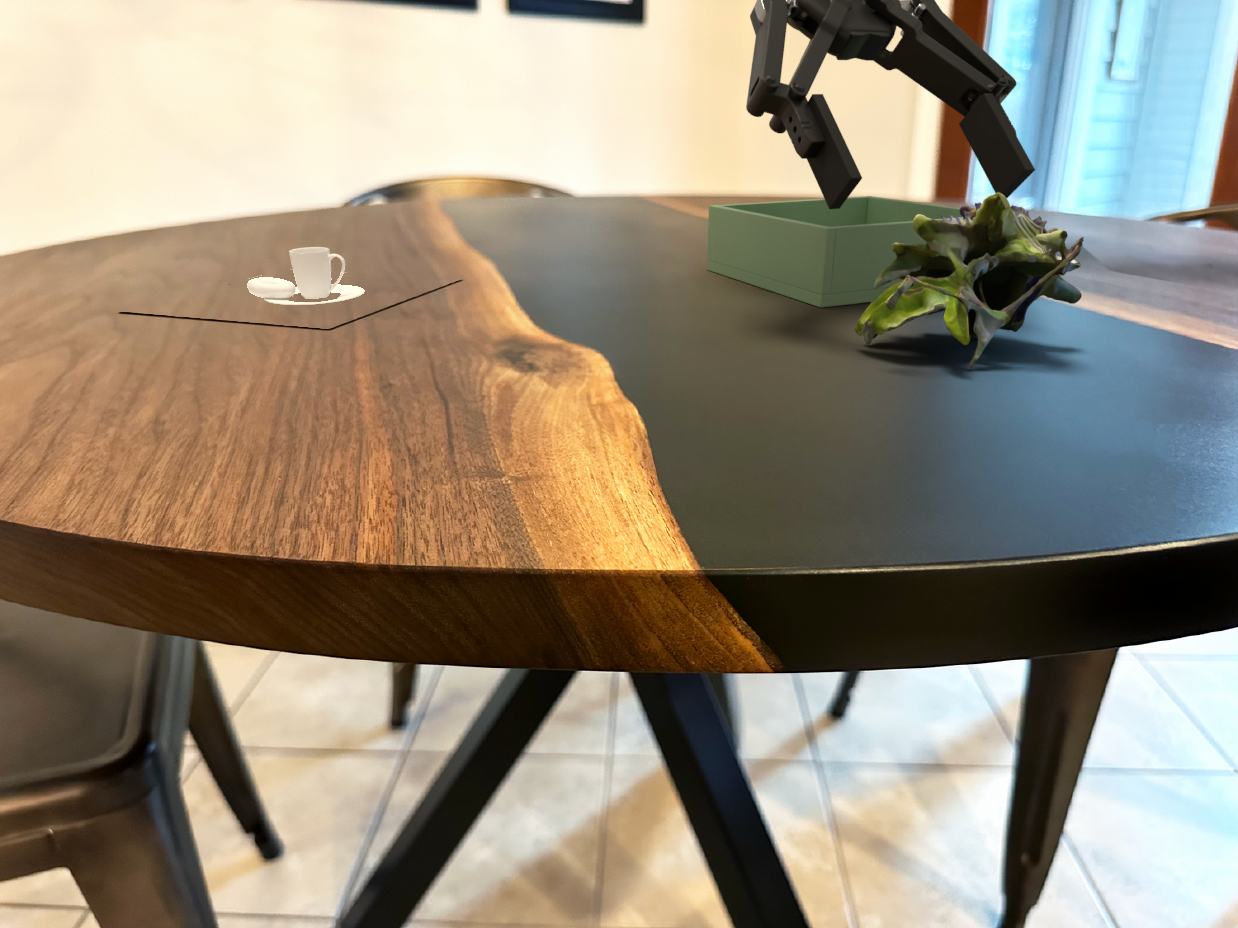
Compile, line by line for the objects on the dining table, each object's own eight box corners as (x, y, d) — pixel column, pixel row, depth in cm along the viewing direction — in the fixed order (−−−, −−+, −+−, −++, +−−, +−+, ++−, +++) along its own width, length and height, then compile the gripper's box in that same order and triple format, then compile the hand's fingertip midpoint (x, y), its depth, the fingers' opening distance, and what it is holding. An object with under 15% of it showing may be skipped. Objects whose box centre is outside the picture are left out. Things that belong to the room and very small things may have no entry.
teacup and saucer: (235, 306, 68) (225, 255, 66) (299, 287, 75) (292, 241, 73) (326, 313, 65) (318, 260, 63) (384, 293, 72) (378, 245, 70)
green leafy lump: (960, 415, 58) (1091, 273, 54) (987, 443, 48) (1152, 270, 44) (831, 314, 59) (952, 168, 55) (831, 321, 48) (979, 141, 45)
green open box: (863, 255, 88) (870, 196, 85) (1002, 287, 72) (1014, 214, 69) (706, 269, 81) (708, 205, 79) (820, 307, 65) (827, 228, 63)
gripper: (923, 4, 67) (1040, 217, 60) (639, -9, 58) (738, 239, 52) (984, -87, 61) (1123, 140, 54) (674, -117, 52) (793, 151, 45)
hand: (935, 189), depth 53 cm, fingers open, 13 cm apart
